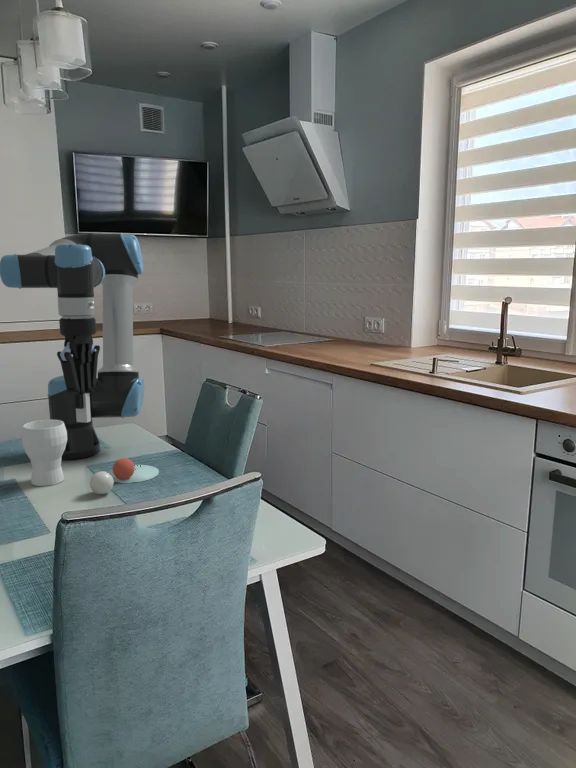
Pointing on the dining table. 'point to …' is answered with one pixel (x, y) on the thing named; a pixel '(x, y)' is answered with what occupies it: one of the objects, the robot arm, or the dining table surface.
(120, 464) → the object ball
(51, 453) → the cup
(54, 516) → the dining table surface
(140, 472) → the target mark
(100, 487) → the cue ball
